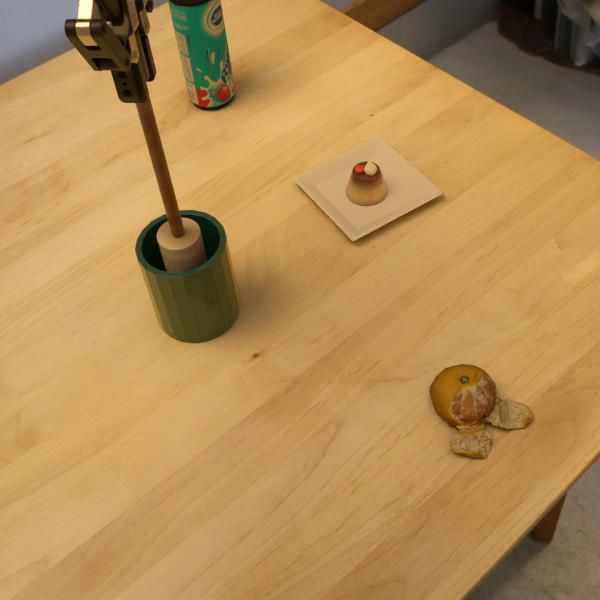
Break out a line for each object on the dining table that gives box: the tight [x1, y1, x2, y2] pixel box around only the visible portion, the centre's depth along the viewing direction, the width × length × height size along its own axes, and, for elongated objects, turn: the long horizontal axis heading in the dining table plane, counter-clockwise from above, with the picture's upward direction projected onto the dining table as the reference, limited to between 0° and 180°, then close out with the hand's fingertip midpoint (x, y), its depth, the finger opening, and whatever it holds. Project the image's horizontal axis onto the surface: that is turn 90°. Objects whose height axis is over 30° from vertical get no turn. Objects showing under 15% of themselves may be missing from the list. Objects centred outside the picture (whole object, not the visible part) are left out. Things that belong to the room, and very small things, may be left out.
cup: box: [134, 209, 241, 344], centre depth 82 cm, size 8×8×10 cm
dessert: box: [292, 135, 444, 242], centre depth 93 cm, size 12×12×5 cm
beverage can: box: [167, 0, 236, 110], centre depth 102 cm, size 6×6×15 cm
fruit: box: [428, 363, 533, 460], centre depth 75 cm, size 8×8×4 cm
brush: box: [117, 28, 208, 273], centre depth 72 cm, size 4×4×28 cm
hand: (138, 88), depth 65 cm, fingers closed on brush, 2 cm apart
